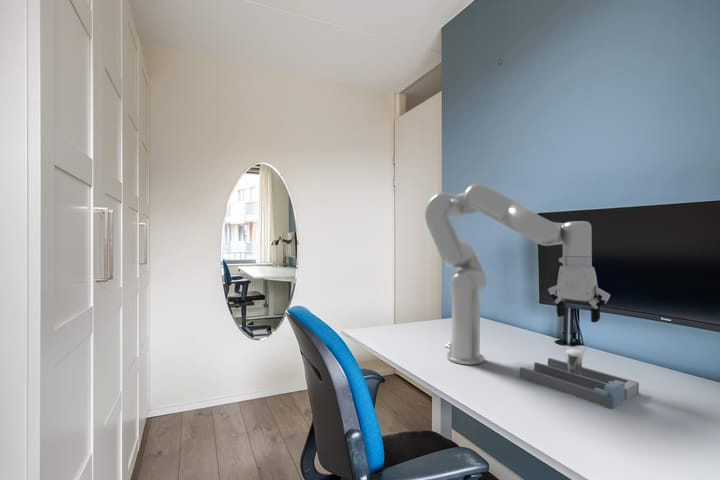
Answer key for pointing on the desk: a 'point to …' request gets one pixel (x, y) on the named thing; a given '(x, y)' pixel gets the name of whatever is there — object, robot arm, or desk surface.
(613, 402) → the grey divided tray
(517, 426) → the desk surface
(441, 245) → the robot arm
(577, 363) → the milkshake
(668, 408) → the desk surface
